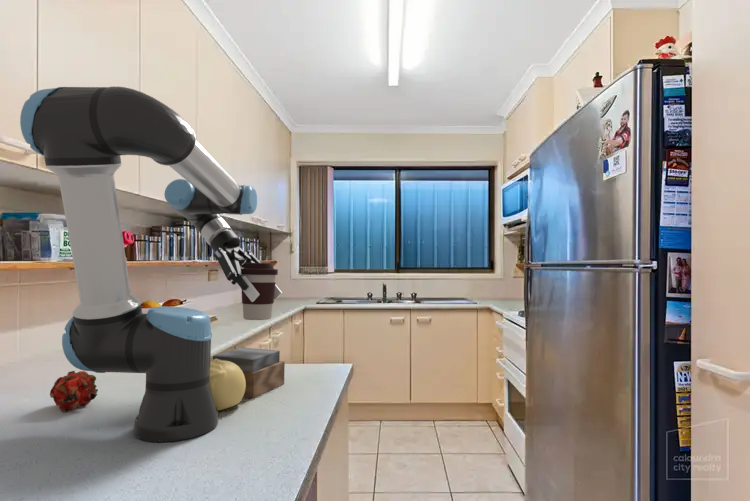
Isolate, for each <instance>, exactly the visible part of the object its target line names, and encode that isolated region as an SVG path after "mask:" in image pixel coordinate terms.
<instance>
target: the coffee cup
mask: <svg viewBox="0 0 750 501" xmlns="http://www.w3.org/2000/svg"><path fill="white" fill-rule="evenodd" d="M240 269H241V272H242V277H243V276H246V277H247V279H248V280H249V281H250V282H251V284H252V285H253V286H254V288H255V289H256V290H257V291H258V293H259V294H260V295H259V296H258V297H257V298H256V299H255V300H254V302H251V300H250V299H249V298H248V297H247V295H246V294H245V293H244V291H243V290H242V289H241V304H242V317H243V320H246V321H265V320H266V321H267V320H271V319H272V316H273V307H274V306H273V304H274V303H275V299H274V294H275V284H276V276H278V274H279V272H278V271H279V270H278V269H277V268H274V265H273V263H272V262H261V263H246V265H245V267H244V268H240ZM276 285H277V284H276Z"/></svg>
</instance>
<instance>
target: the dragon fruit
mask: <svg viewBox="0 0 750 501" xmlns="http://www.w3.org/2000/svg"><path fill="white" fill-rule="evenodd" d="M96 380H97V377H96V375H94V374H89V373H88V371H84V370H79V371H78V372H75V370H72V371H71V370H70V371H68V372H67V375H63V376H60V377H58V378H57V379H56V380H55V381H54V383H53V386H52V388H51V389H50V392H49V396H50V398H52V399H53V401H54V403H55V405H56V406H57V407H58V408H59V409H60V411H61V412H63V413H66V412H67V413H68V412H70V411H72V410H73V409H75V408H79V407H82V408H84V407H86V406H88V405H89V403H91V402H92V401H93V400H94V399H95V398H96V397H97V396H98V391H99V390H98V389H97V385H96V384H95V383H96V382H95V381H96Z"/></svg>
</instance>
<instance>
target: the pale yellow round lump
mask: <svg viewBox="0 0 750 501" xmlns="http://www.w3.org/2000/svg"><path fill="white" fill-rule="evenodd" d="M210 388H211V391H212V395H213V398H214V403H215V406H216V407H217V410H218V412H219V411H222V410H225V409H229V408H232V407H235V406H237V405H238V404H239V403H240V402H241V401H242V400H243V398H244V397H243V396H244V393H245V388H246V381H245V376H244V374H243V372H242V370H241V369H240V367H239V366H238V365H236V364H235V363H232V362H230V361H224V360H219V359H214V360H213V359H210Z"/></svg>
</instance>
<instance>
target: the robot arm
mask: <svg viewBox="0 0 750 501" xmlns="http://www.w3.org/2000/svg"><path fill="white" fill-rule="evenodd" d="M19 119H20V120H19V123H20V124H19V125H20V131H21V135H22V136H23V139H24V140H25V142H26V144H28V145H30V149H32V150H33V151H34V152H36V153H37V154H38V155H41V156H43V158H44V163H45V168H47V169H48V170H50V171H51V172H52V173H53V174H55V175H56V176H57V177H58V182H59V187H60V188H59V189H60V194H61V200H62V206H63V212H64V217H65V222H66V223H65V224H66V228H67V234H68V240H69V246H70V250H71V257H72V263H73V268H74V269H73V270H74V273H75V280H76V286H77V291H78V297H79V304H78V305H77V306H76V307H75V308H73V310H72V317H71V318H70V319H69V320H68V321H67V323H66V324H65V326H64V331H65V332H64V333H62V338H61V346H62V350H63V351H62V352H63V354H64V356H65V358H66V360H67V361H68V362H69V364H71V365H72V366H73V367H74V368H75V369H78V370H79V371H85V372H93V373H98V374H105V373H125V374H127V373H128V374H130V373H131V374H145V391H144V395H143V398H142V400H141V403H140V406H139V409H138V410H139V411H138V414H137V415H136V417H135V419H134V423H133V435H134V436H135V437H136V438H138V439H139V440H142V441H145V442H154V443H155V442H156V443H158V442H159V443H161V442H162V443H166V442H176V441H183V440H187V439H191V438H192V439H193V438H196V437H199V436H202V435H204V434H206V433H209V432H210V431H212V430H214V429H215V428H216V427H217V426H218V423H219V411H218V410H217V407H216V406H215V403H214V398H213V395H212V391H211V388H210V360H211V355H212V354H211V352H212V349H211V348H212V337H213V332H212V322H211V318H210V316H209V314H208V313H206V312H204V311H202V310H199V309H195V308H189V307H181V306H154V307H150V308H149V309H148V311H147V313H143V309H142V308H143V307H142V302H141V300H140V298H138V297H136V296H135V295H133V294H132V291H131V284H130V279H129V278H130V277H129V271H128V265H127V256H126V252H125V244H124V236H123V231H122V230H123V229H122V223H121V215H120V210H119V203H118V195H117V190H116V189H117V188H116V182H115V176H114V175H115V173H116V172H117V171H118V170H119V169H120V167H121V166H122V159H121V156H137V157H146V158H149V159H151V160H153V161H154V162H155V163H157V164H158V165H162V166H165V167H166V166H169V167H170V168H171V169H172V170H174V171H175V172H176V173H177V174H178V175H180V176H181V177H182V178H180V179H179V178H177V179H174V180H172V181H171V182H169V184H167V186H166V187H165V190H164V193H163V194H164V199H165V201H166V202H167V203H168V204H169V205H170V206H171V208H172V209H173V210H175V211H176V212H178V213H179V214H181V215H182V216H183V217H184V218H185V219H186V220H187V221H189V222H190V223H191V224H192V225H193V227H194V228H195V229H196V230H197V231H198V232H199V234H200V235H201V236H202V238H203V239H204V240H205V242H206V243H207V244H208V245H209V246H210V249H211V250H212V251H213V252H214V253H213V256H214V258H215V259H216V260H217V262H218V265H220V268H221V270H222V271H223V274H224V275H225V277H226V278H225V279H226V280H227V281H228V282H230V281H231V282H230V283H231V284H232V285H236V284H237V285H238V286H239V287H240V289H241V291H242V290H243V291H244V293H245V294H246V295H247V297H248V298H249V299H250V300H251V302H254V300H255V299H256V298H257V297H258V296H259V295H260V294H259V293H258V291H257V290H256V289H255V288H254V286H253V285H252V284H251V282H250V281H249V280H248V279H247V277H246V276H243V277H242V272H241V269H244V267H245V265H246V263H262V262H261V261H260V260H259V258H257V257H256V256H255V255H254V253H253V252H252V251H251V250H250V249H249V250H247V251H245V250H243V248H241V239H240V238H239V236H238V235H237V234H236V233H235V231H234V230H233V228H231V226H230V225H229V224H228V222H227V221H226V220H225V219H224V218H223V217H222V215H240V216H242V215H251V214H253V213H255V212H256V209H257V205H258V195H257V194H258V193H257V192H256V189H255V188H254V187H253V186H251V185H246V184H242V185H240V184H238V183H237V181H235V180H234V178H233V177H232V176H231V175H230V174H229V173H228V172H227V171H226V170H225V169H224V168H223V167H222V166H221V164H220V163H218V161H217V160H216V159H215V158H214V157H213V156H212V155H211V153H209V152H208V151H207V150H206V148H204V147H203V145H202V144H201V143H200V142H199V141H198V140H197V137H196V136H197V135H196V133H195V130H194V128H192V126H191V125H190V124H189V123H188V122H187V121H186V120H185V119H184V118H183V117H182V116H181V115H179V113H177V112H176V111H175V110H173V108H171V107H169V106H168V105H166V104H165V103H163V102H162V101H160V100H158V99H157V98H155V97H153V96H151V95H149V94H147V93H146V92H145V93H144V92H142V91H139V90H137V89H134V88H130V87H125V86H109V87H108V86H107V87H106V86H99V87H97V86H96V87H95V86H58V87H54V88H44V89H40V90H37V91H34V93H32V94H30V95H29V98H28V99H27V100H25V102H23V106H22V108H21V111H20V117H19ZM282 294H283V291H282V290H281V289H280V288H279V287H278V285H277V284H275V294H274V301H275V300H278V298H279V297H280V296H281V295H282Z"/></svg>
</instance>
